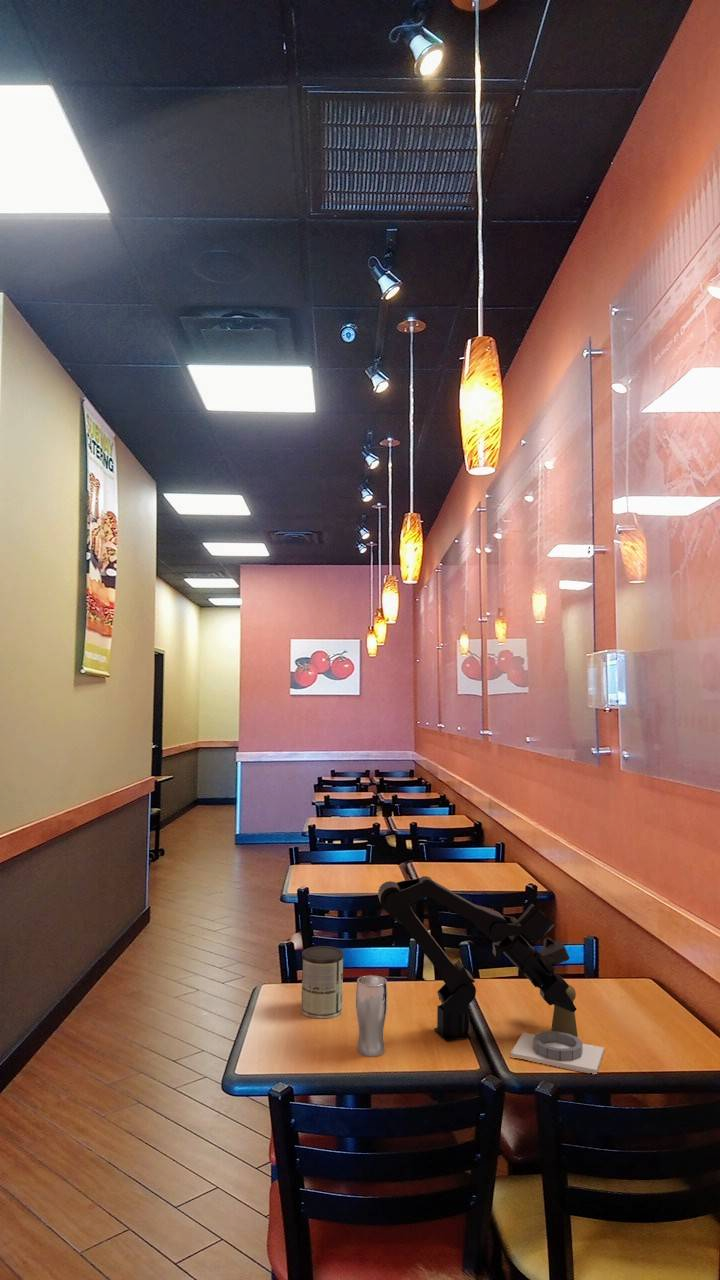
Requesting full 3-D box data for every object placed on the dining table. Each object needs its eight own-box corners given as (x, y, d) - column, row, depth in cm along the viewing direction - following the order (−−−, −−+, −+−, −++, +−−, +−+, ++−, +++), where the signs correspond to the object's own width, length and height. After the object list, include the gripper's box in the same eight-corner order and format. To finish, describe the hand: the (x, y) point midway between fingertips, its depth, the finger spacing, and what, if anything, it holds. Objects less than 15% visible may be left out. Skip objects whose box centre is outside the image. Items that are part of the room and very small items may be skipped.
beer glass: (355, 1043, 180) (356, 974, 182) (386, 1044, 180) (387, 975, 181) (354, 1057, 174) (355, 985, 175) (386, 1058, 173) (387, 986, 174)
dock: (510, 1057, 175) (510, 1043, 175) (522, 1037, 186) (522, 1023, 186) (596, 1074, 167) (596, 1059, 168) (604, 1052, 178) (604, 1038, 179)
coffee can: (296, 1005, 202) (297, 947, 203) (335, 1001, 206) (336, 944, 207) (306, 1021, 193) (308, 960, 194) (347, 1016, 196) (349, 956, 197)
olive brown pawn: (571, 1041, 184) (571, 992, 184) (546, 1034, 187) (546, 985, 188) (581, 1033, 188) (581, 984, 189) (557, 1026, 192) (557, 979, 193)
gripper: (559, 943, 180) (608, 994, 180) (536, 920, 199) (581, 966, 198) (524, 979, 179) (573, 1030, 179) (504, 953, 198) (549, 999, 197)
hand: (570, 1004), depth 188 cm, fingers open, 7 cm apart
